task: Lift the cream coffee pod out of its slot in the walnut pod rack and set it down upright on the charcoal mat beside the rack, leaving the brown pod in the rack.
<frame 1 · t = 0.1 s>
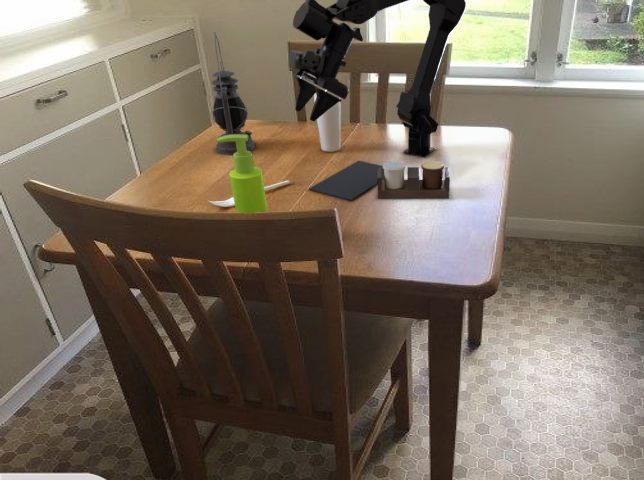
hand: (304, 115, 122), 15 cm above the table, tool tilted 35°, fingers open, 9 cm apart
pod rack: (413, 193, 120), on the table
mat: (355, 180, 127), on the table
lantern: (236, 148, 148), on the table
soap dispenser: (253, 235, 105), on the table
coffee pod: (394, 184, 119), point 2 cm above the table, touching pod rack
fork: (252, 197, 121), on the table
drinking glass: (331, 150, 145), on the table
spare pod: (432, 184, 119), point 2 cm above the table, touching pod rack
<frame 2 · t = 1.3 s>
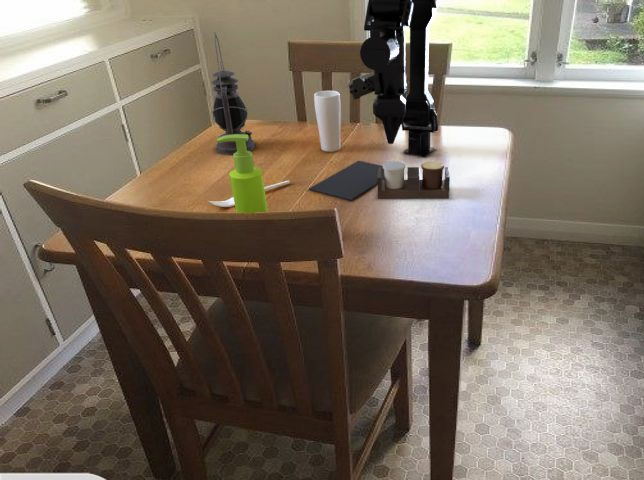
hand: (391, 136, 113), 13 cm above the table, tool pointing down, fingers open, 9 cm apart
nothing on the table moved.
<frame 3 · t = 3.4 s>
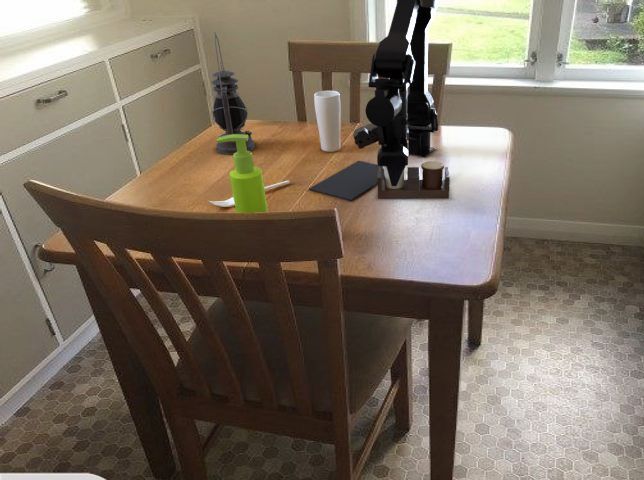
hand: (394, 181, 119), 3 cm above the table, tool pointing down, fingers closed on coffee pod, 4 cm apart
coffee pod: (394, 184, 119), point 2 cm above the table, touching gripper, pod rack
everything else where it was.
when the fingers open (1 cm above the table, at t = 7.9 s): coffee pod stays where it is, resting on mat.
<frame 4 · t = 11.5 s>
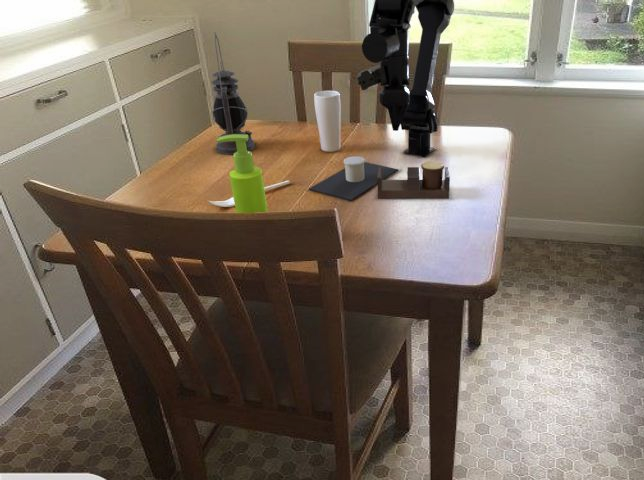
hand: (395, 124, 124), 12 cm above the table, tool pointing down, fingers open, 9 cm apart
coffee pod: (355, 178, 127), resting on mat
everything else where it was.
at the end: coffee pod inside the target area on the mat (0.0 cm from its centre), point 0.4 cm above the mat's base; coffee pod tilted 0°; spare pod moved 0.0 cm from its start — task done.
